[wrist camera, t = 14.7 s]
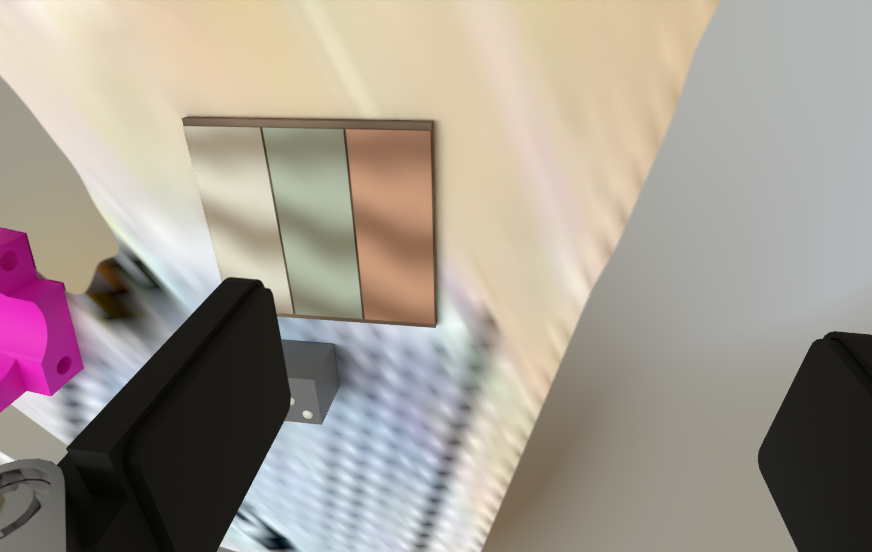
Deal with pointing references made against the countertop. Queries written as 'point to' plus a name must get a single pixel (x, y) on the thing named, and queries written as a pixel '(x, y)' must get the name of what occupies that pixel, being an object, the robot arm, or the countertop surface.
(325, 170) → the striped panel
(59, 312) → the toy block
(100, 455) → the robot arm
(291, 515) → the countertop surface
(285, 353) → the die
